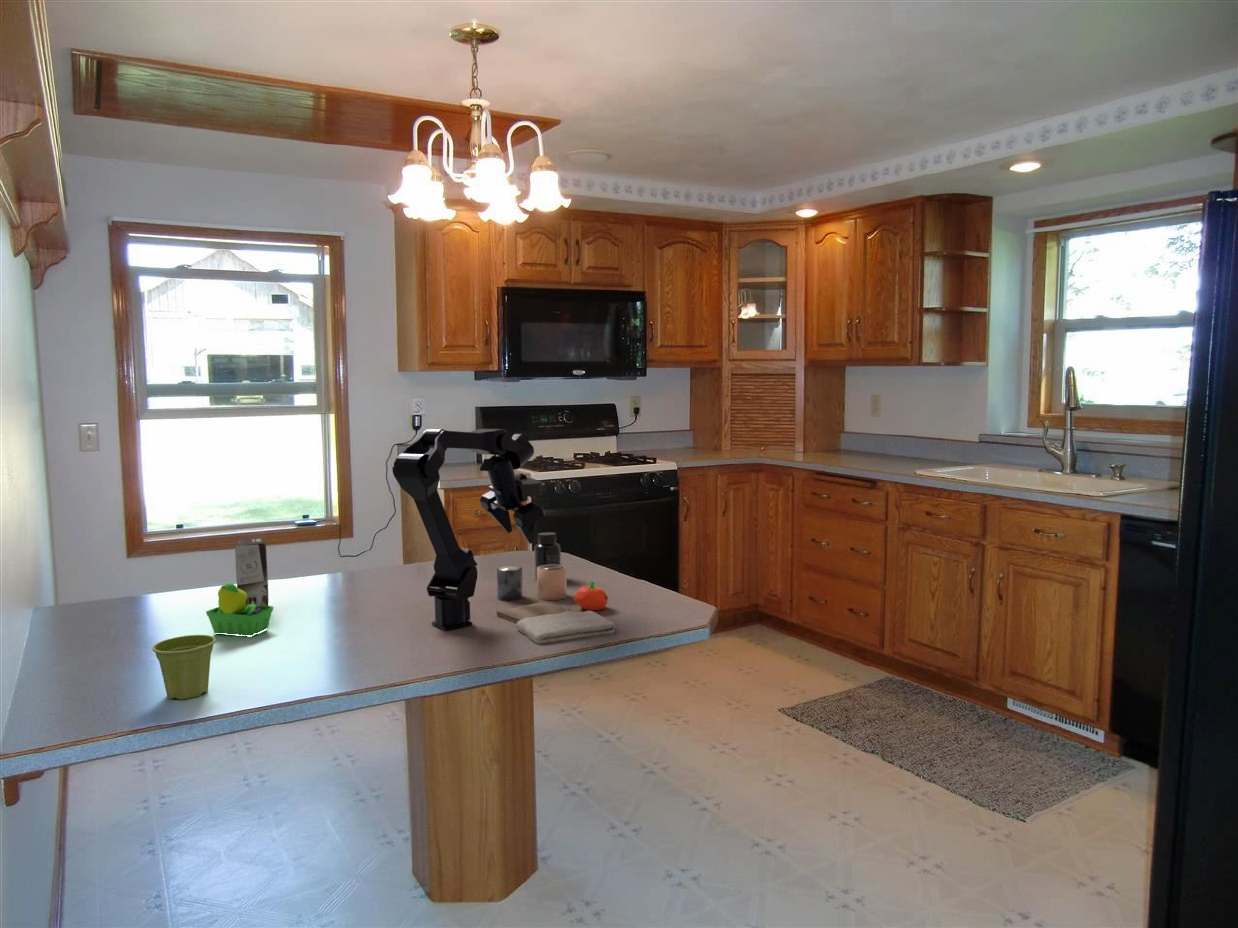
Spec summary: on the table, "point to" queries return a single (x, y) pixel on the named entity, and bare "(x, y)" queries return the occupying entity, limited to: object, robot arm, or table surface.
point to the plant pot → (185, 664)
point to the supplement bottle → (547, 551)
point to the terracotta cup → (551, 582)
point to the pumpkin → (591, 597)
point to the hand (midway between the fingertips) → (520, 537)
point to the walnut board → (529, 611)
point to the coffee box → (252, 570)
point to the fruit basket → (238, 613)
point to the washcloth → (564, 626)
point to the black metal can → (509, 583)
